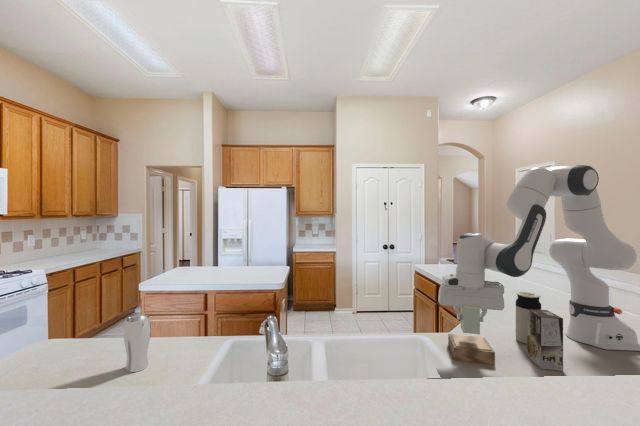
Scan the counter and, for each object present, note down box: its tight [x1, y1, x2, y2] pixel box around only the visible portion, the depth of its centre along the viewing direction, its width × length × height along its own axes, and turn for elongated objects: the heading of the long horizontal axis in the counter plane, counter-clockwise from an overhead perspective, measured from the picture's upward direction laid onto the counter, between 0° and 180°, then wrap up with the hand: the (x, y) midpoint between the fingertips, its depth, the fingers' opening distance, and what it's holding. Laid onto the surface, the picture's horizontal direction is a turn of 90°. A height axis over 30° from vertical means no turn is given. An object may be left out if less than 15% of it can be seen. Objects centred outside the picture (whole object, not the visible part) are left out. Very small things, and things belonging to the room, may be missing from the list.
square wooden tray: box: [447, 333, 496, 366], centre depth 101 cm, size 12×12×4 cm
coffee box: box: [527, 309, 564, 372], centre depth 95 cm, size 9×6×16 cm
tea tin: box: [460, 305, 481, 335], centre depth 101 cm, size 5×5×9 cm
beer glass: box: [123, 314, 152, 373], centre depth 90 cm, size 7×7×15 cm
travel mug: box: [515, 291, 542, 345], centre depth 112 cm, size 8×8×18 cm
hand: (469, 320), depth 101 cm, fingers closed on tea tin, 5 cm apart
